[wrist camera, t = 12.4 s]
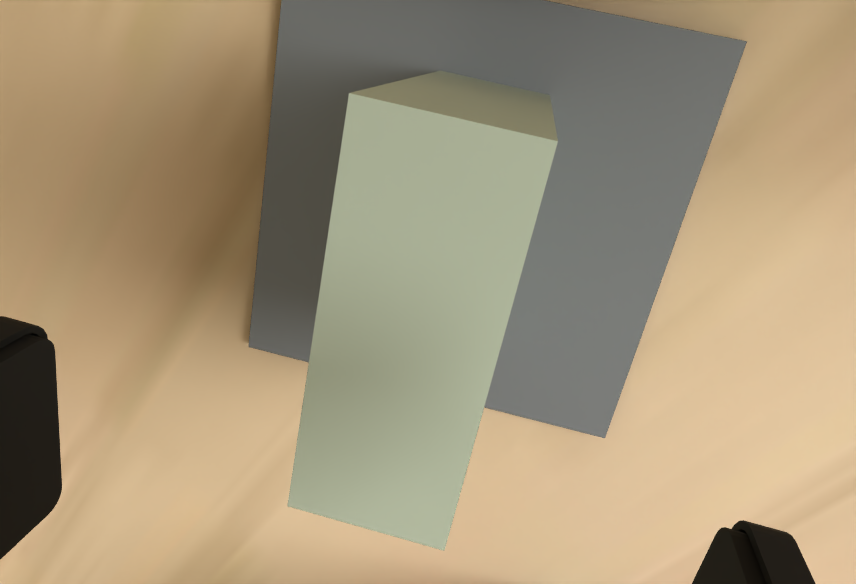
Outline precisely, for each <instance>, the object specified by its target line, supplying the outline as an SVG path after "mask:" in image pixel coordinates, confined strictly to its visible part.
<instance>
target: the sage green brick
mask: <svg viewBox="0 0 856 584" xmlns="http://www.w3.org/2000/svg"><path fill="white" fill-rule="evenodd" d="M557 143H558V139H557V133H556V127H555V122H554V116H553V110H552V104H551V99H550V95H547V94H543V93H538V92H534V91H529V90H525V89H520V88H516V87H512V86H507V85H503V84H498V83H494V82H489V81H485V80H481V79H476V78H472V77H467V76H463V75H458V74H454V73H450V72H445V71H437V72H433V73H429V74H425V75H421V76H417V77H412V78H408V79H404V80H400V81H396V82H392V83H388V84H384V85H380V86H376V87H372V88H368V89H364V90H359V91H355V92H351V93H349V97H348V104H347V110H346V117H345V124H344V130H343V137H342V144H341V151H340V157H339V164H338V171H337V177H336V184H335V191H334V197H333V204H332V211H331V218H330V224H329V231H328V238H327V244H326V251H325V258H324V265H323V271H322V278H321V285H320V291H319V298H318V305H317V312H316V318H315V325H314V332H313V338H312V345H311V352H310V359H309V365H308V372H307V379H306V385H305V392H304V399H303V406H302V412H301V419H300V426H299V432H298V439H297V446H296V453H295V459H294V466H293V473H292V479H291V486H290V493H289V500H288V506H289V507H292V508H296V509H299V510H303V511H306V512H310V513H313V514H317V515H320V516H324V517H327V518H331V519H334V520H338V521H341V522H345V523H348V524H352V525H355V526H359V527H363V528H366V529H370V530H373V531H377V532H380V533H384V534H387V535H391V536H394V537H398V538H401V539H405V540H408V541H412V542H415V543H419V544H422V545H426V546H429V547H433V548H436V549H440V550H443V551H444V550H445V546H446V543H447V539H448V536H449V532H450V528H451V525H452V521H453V518H454V514H455V510H456V507H457V503H458V500H459V496H460V492H461V489H462V485H463V482H464V478H465V474H466V471H467V467H468V464H469V460H470V456H471V453H472V449H473V446H474V442H475V438H476V435H477V431H478V428H479V424H480V420H481V417H482V413H483V410H484V406H485V402H486V399H487V395H488V392H489V388H490V384H491V381H492V377H493V374H494V370H495V366H496V363H497V359H498V356H499V352H500V348H501V345H502V341H503V338H504V334H505V330H506V327H507V323H508V320H509V316H510V312H511V309H512V305H513V302H514V298H515V294H516V291H517V287H518V284H519V280H520V276H521V273H522V269H523V266H524V262H525V258H526V255H527V251H528V248H529V244H530V240H531V237H532V233H533V230H534V226H535V222H536V219H537V215H538V211H539V208H540V204H541V201H542V197H543V193H544V190H545V186H546V183H547V179H548V175H549V172H550V168H551V165H552V161H553V157H554V154H555V150H556V147H557Z"/></svg>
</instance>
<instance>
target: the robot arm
mask: <svg viewBox="0 0 856 584" xmlns="http://www.w3.org/2000/svg"><path fill="white" fill-rule="evenodd" d="M61 490H62V478H61V459H60V439H59V420H58V400H57V381H56V361H55V349H54V345H53V343H52V342H51V341H50V340H48V338H47V334H46V332H45V331H44V329H42V328H41V327H39V326H36V325H33V324H29V323H26V322H22V321H18V320H15V319H11V318H7V317H1V316H0V559H1V558H2V557H3V556H5V555H6V554H7V553H8V552H9V551H10V550H11V549H12V548H13V547H14V546H15V545H16V544H17V543H18V542H19V541H21V540H22V539H23V538H24V537H25V536H26V535H27V534H28V533H29V532H30V531H31V530H32V529H33V528H34V527H35V526H37V525H38V524H39V523H40V522H41V521H42V520H43V519H44V518H45V517H46V516H47V515H48V514H49V513H50V512H51V511H52V510H53V508H54V507H55V505H56V504H57V502H58V500H59V498H60V494H61ZM692 584H815V582H814V580H813V577H812V575H811V573H810V571H809V569H808V567H807V565H806V562H805V560H804V558H803V556H802V554H801V552H800V549H799V547H798V545H797V543H796V541H795V540H794V538H793V537H792V535H790V534H788V533H787V532H783V531H780V530H776V529H773V528H769V527H765V526H762V525H758V524H754V523H751V522H747V521H739V522H737V523H736V524H735V525H734V526H733V528H732V529H729V528H721V529H720V530H718V532H717V534H716V535H715V537H714V539H713V541H712V543H711V545H710V548H709V550H708V552H707V554H706V556H705V558H704V560H703V562H702V564H701V566H700V568H699V570H698V572H697V574H696V576H695V578H694V581H693V583H692Z"/></svg>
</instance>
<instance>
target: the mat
mask: <svg viewBox="0 0 856 584" xmlns="http://www.w3.org/2000/svg"><path fill="white" fill-rule="evenodd" d="M746 43H747V41H742V40H737V39H732V38H727V37H722V36H717V35H712V34H707V33H702V32H698V31H693V30H688V29H683V28H678V27H673V26H668V25H663V24H658V23H653V22H648V21H643V20H638V19H634V18H629V17H624V16H619V15H614V14H609V13H604V12H599V11H594V10H589V9H584V8H579V7H574V6H569V5H565V4H560V3H555V2H550V1H545V0H282V1H281V11H280V22H279V32H278V43H277V53H276V64H275V74H274V85H273V95H272V106H271V116H270V127H269V137H268V148H267V158H266V169H265V179H264V190H263V200H262V211H261V221H260V232H259V242H258V253H257V263H256V273H255V284H254V294H253V305H252V315H251V326H250V336H249V347H251V348H255V349H259V350H263V351H267V352H271V353H275V354H278V355H282V356H286V357H290V358H294V359H298V360H302V361H306V362H309V359H310V352H311V345H312V338H313V332H314V325H315V318H316V312H317V305H318V298H319V291H320V285H321V278H322V271H323V265H324V258H325V251H326V244H327V238H328V231H329V224H330V218H331V211H332V204H333V197H334V191H335V184H336V177H337V171H338V164H339V157H340V151H341V144H342V137H343V130H344V124H345V117H346V110H347V104H348V97H349V93H351V92H355V91H359V90H364V89H368V88H372V87H376V86H380V85H384V84H388V83H392V82H396V81H400V80H404V79H408V78H412V77H417V76H421V75H425V74H429V73H433V72H437V71H445V72H450V73H454V74H458V75H463V76H467V77H472V78H476V79H481V80H485V81H489V82H494V83H498V84H503V85H507V86H512V87H516V88H520V89H525V90H529V91H534V92H538V93H543V94H547V95H550V99H551V104H552V110H553V116H554V122H555V127H556V133H557V139H558V143H557V147H556V150H555V154H554V157H553V161H552V165H551V168H550V172H549V175H548V179H547V183H546V186H545V190H544V193H543V197H542V201H541V204H540V208H539V211H538V215H537V219H536V222H535V226H534V230H533V233H532V237H531V240H530V244H529V248H528V251H527V255H526V258H525V262H524V266H523V269H522V273H521V276H520V280H519V284H518V287H517V291H516V294H515V298H514V302H513V305H512V309H511V312H510V316H509V320H508V323H507V327H506V330H505V334H504V338H503V341H502V345H501V348H500V352H499V356H498V359H497V363H496V366H495V370H494V374H493V377H492V381H491V384H490V388H489V392H488V395H487V399H486V402H485V406H484V407H485V408H489V409H493V410H497V411H501V412H505V413H508V414H512V415H516V416H520V417H524V418H528V419H532V420H536V421H540V422H544V423H547V424H551V425H555V426H559V427H563V428H567V429H571V430H575V431H579V432H583V433H586V434H590V435H594V436H598V437H602V438H605V436H606V434H607V431H608V428H609V425H610V422H611V420H612V417H613V414H614V411H615V408H616V406H617V403H618V400H619V397H620V394H621V392H622V389H623V386H624V383H625V380H626V378H627V375H628V372H629V369H630V367H631V364H632V361H633V358H634V355H635V353H636V350H637V347H638V344H639V341H640V339H641V336H642V333H643V330H644V327H645V325H646V322H647V319H648V316H649V313H650V311H651V308H652V305H653V302H654V299H655V297H656V294H657V291H658V288H659V286H660V283H661V280H662V277H663V274H664V272H665V269H666V266H667V263H668V260H669V258H670V255H671V252H672V249H673V246H674V244H675V241H676V238H677V235H678V232H679V230H680V227H681V224H682V221H683V218H684V216H685V213H686V210H687V207H688V205H689V202H690V199H691V196H692V193H693V191H694V188H695V185H696V182H697V179H698V177H699V174H700V171H701V168H702V165H703V163H704V160H705V157H706V154H707V151H708V149H709V146H710V143H711V140H712V138H713V135H714V132H715V129H716V126H717V124H718V121H719V118H720V115H721V112H722V110H723V107H724V104H725V101H726V98H727V96H728V93H729V90H730V87H731V84H732V82H733V79H734V76H735V73H736V70H737V68H738V65H739V62H740V59H741V57H742V54H743V51H744V48H745V45H746Z"/></svg>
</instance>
